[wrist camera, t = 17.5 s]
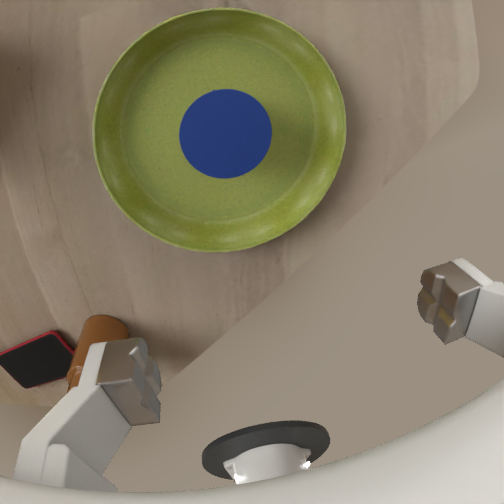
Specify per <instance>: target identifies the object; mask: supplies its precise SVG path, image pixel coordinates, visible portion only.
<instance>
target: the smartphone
mask: <svg viewBox="0 0 504 504" xmlns="http://www.w3.org/2000/svg"><path fill="white" fill-rule="evenodd" d="M73 354H74V351H73V350H72V349H71V347H70V346H69V345H68V344H67V343H66V342H65V341H64V340H63V339H62V337H61V336H60V335H59V334H58V333H57V332H55V331H52V330H51V331H48V332H46V333H44V334H42V335H39V336H37V337H35V338H33V339H30V340H28V341H26V342H24V343H21V344H19V345H17V346H15V347H12V348H10V349H8V350H6V351H3V352H1V353H0V365H1V366H2V367H3V368H4V369H5V370H6V371H7V372H8V373H9V374H10V375H11V376H12V377H13V378H14V379H15V380H16V381H17V382H18V383H19V384H20V385H21V386H22V387H24V388H27V389H28V388H31V387H35V386H38V385H42V384H45V383H49V382H52V381H55V380H59V379H62V378H65V377H67V373H68V370H69V367H70V363H71V360H72V357H73Z"/></svg>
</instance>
